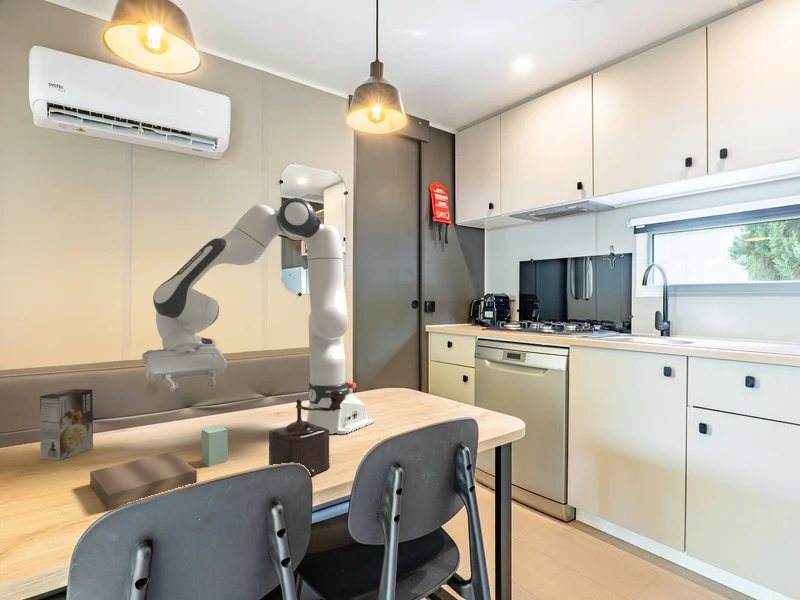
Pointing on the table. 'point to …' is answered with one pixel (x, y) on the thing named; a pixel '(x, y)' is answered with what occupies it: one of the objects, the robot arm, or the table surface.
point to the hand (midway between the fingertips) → (194, 387)
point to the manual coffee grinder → (304, 439)
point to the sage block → (214, 445)
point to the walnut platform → (140, 479)
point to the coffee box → (66, 423)
